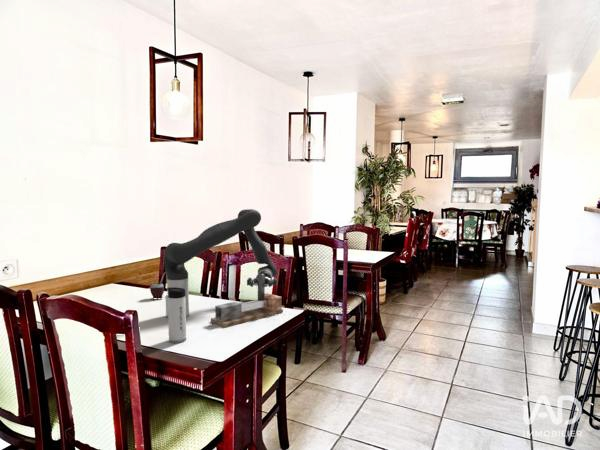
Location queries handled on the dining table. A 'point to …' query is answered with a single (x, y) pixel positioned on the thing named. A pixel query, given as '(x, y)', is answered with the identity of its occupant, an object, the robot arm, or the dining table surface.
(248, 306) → the grey stepped block
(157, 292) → the mate gourd
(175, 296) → the travel mug
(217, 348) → the dining table surface
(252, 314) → the tube rig
